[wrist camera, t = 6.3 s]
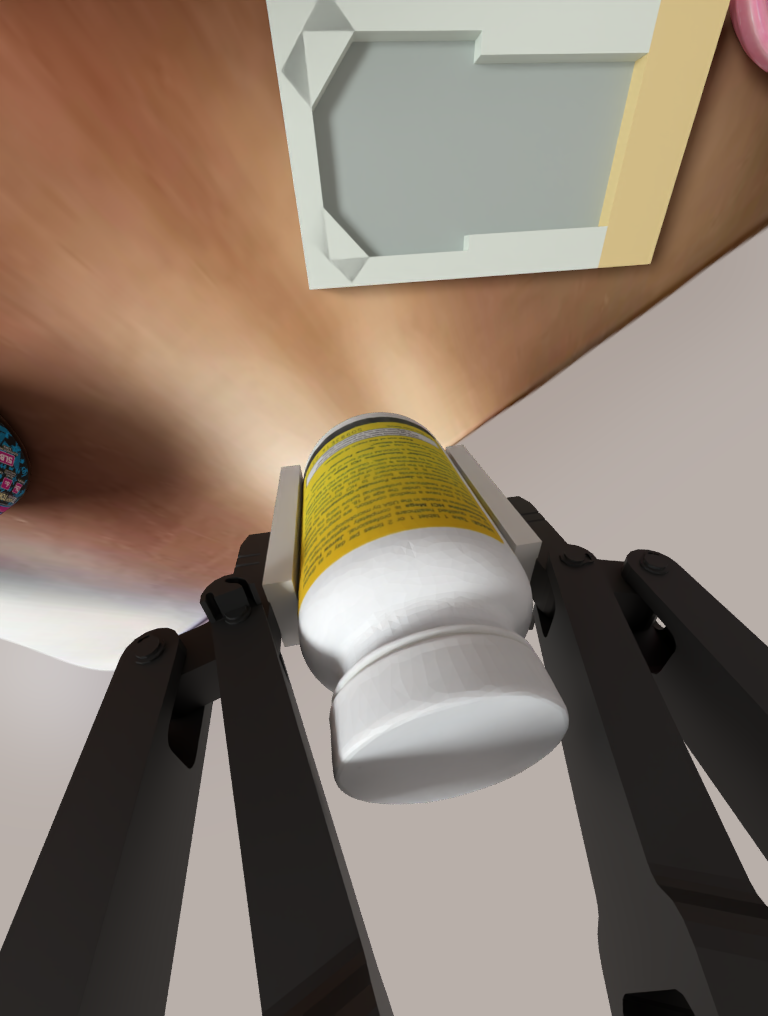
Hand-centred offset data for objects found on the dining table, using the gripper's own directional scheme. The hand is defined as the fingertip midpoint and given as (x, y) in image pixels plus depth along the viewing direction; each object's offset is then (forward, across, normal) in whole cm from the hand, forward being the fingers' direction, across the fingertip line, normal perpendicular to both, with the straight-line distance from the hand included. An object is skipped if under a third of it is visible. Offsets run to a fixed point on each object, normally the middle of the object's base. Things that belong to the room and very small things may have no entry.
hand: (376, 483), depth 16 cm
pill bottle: (+1, 0, 0) cm, 1 cm away
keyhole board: (+16, +10, +13) cm, 23 cm away
